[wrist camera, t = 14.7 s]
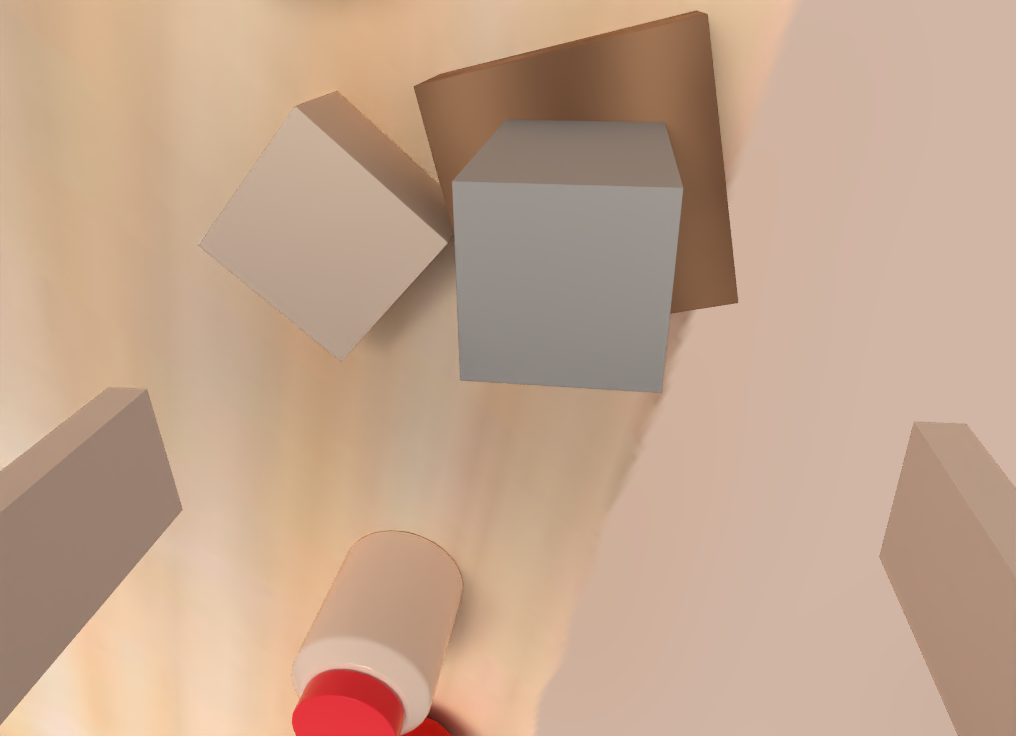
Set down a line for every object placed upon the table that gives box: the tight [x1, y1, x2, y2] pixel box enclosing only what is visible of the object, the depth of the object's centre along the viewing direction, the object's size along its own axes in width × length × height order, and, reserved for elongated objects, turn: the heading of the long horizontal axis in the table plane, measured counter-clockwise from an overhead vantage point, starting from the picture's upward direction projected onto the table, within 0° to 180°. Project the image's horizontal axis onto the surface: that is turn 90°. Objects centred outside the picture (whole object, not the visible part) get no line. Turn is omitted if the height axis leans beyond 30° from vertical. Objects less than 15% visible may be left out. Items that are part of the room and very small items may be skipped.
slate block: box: [452, 120, 683, 393], centre depth 25 cm, size 6×6×10 cm
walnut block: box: [414, 11, 738, 313], centre depth 31 cm, size 11×11×5 cm
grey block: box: [198, 91, 454, 362], centre depth 34 cm, size 8×8×5 cm
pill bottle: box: [292, 531, 463, 736], centre depth 42 cm, size 8×8×11 cm
